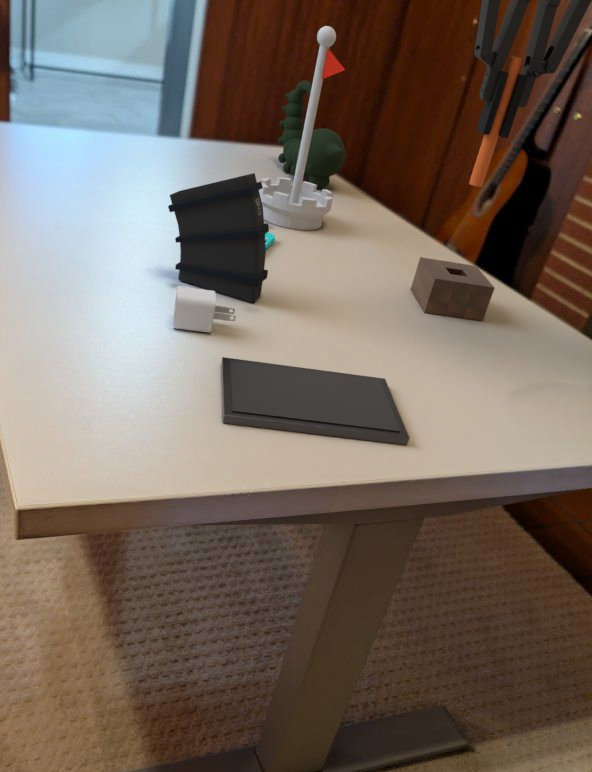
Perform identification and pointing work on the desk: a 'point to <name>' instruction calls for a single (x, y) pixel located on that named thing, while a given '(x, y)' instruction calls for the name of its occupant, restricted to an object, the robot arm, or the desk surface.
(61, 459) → the desk surface
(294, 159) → the toy figurine
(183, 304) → the usb wall charger
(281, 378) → the tablet
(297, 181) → the flag stand
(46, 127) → the desk surface
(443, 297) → the pen stand
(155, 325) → the desk surface
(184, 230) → the magazine
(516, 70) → the orange rod
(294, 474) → the desk surface
